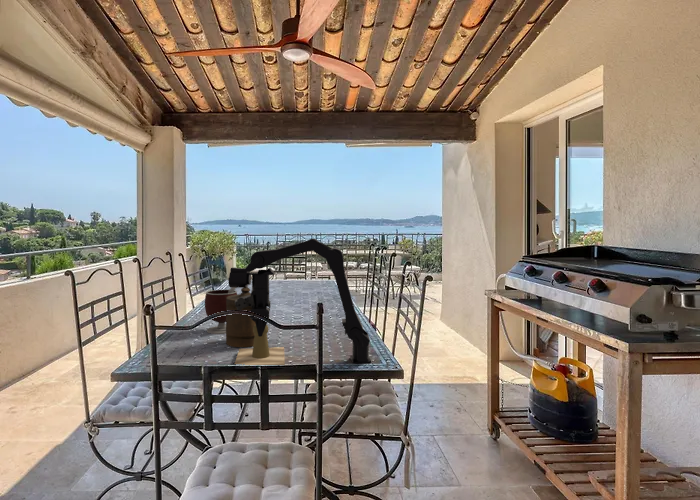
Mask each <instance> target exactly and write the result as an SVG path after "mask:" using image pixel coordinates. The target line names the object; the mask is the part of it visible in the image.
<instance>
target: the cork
mask: <svg viewBox="0 0 700 500" xmlns="http://www.w3.org/2000/svg"><path fill="white" fill-rule="evenodd" d="M253 332H254V334H255V337H254V344H253V346H252V348H253V352H252V357H253V358H259V359H260V358H267V357H269V356H270V353H269V348H270V347H269V341H268V333H269V326H268V324H266V327H265V329H264V332H263V335H262V336H261V337H259V336H258V332H257V328H256V325H254V327H253Z"/></svg>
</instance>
